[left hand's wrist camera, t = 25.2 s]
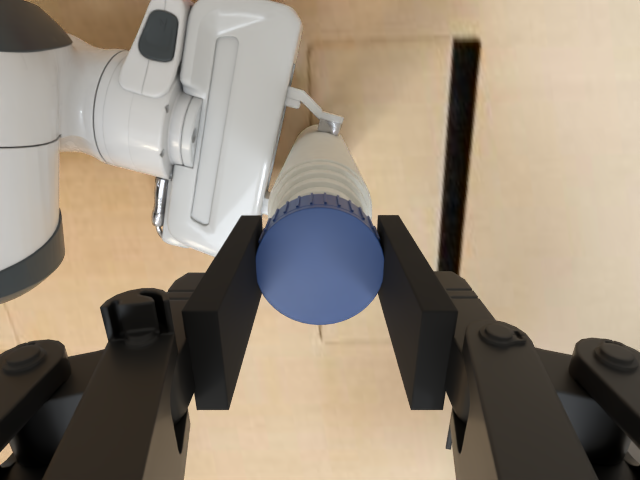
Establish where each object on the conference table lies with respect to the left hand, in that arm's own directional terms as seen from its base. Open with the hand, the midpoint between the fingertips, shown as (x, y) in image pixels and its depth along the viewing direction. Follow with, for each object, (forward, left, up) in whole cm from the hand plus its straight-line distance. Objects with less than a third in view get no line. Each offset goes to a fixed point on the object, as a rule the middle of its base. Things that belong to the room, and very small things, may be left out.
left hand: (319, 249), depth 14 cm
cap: (0, 0, +1) cm, 1 cm away
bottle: (0, 0, -24) cm, 24 cm away
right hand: (-1, 0, -18) cm, 18 cm away
